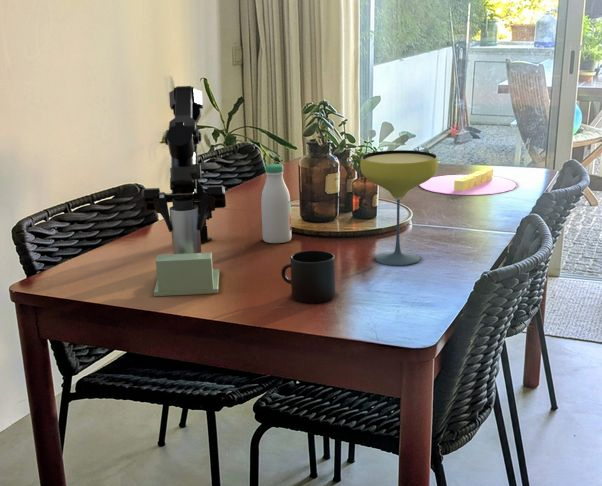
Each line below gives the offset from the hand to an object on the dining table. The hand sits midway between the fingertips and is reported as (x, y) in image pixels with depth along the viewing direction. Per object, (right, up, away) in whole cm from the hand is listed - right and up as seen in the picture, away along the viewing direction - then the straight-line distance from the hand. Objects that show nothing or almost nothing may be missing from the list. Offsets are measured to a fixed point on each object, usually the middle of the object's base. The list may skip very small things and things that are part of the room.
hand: (185, 230), depth 194 cm
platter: (+82, +27, +95) cm, 128 cm away
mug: (+28, -15, -7) cm, 32 cm away
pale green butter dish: (0, -12, +3) cm, 12 cm away
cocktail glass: (+50, -5, +17) cm, 53 cm away
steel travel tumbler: (0, -6, +4) cm, 7 cm away
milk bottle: (+20, +2, +37) cm, 42 cm away
